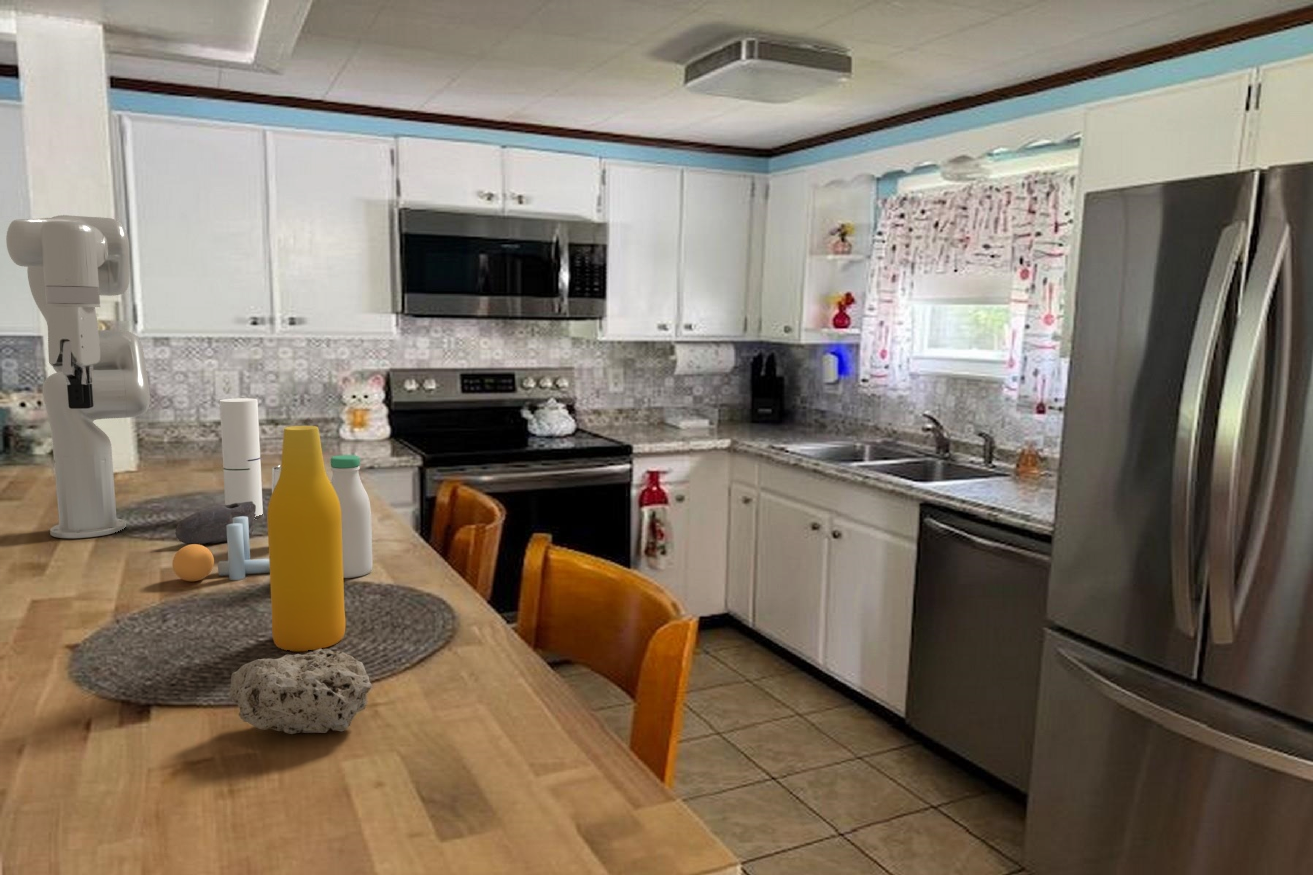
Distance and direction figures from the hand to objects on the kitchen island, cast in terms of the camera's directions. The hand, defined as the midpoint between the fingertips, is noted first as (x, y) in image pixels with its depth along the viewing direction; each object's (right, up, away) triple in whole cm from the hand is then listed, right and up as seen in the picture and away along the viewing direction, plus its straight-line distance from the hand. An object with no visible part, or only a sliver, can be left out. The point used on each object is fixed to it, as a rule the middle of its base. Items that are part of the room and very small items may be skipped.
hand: (81, 407), depth 149 cm
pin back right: (+27, -28, +1) cm, 38 cm away
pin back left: (+28, -28, -3) cm, 40 cm away
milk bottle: (+45, -28, +1) cm, 53 cm away
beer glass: (+29, -26, +17) cm, 42 cm away
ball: (+22, -25, -5) cm, 34 cm away
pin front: (+24, -27, -2) cm, 36 cm away
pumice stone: (+59, -36, -54) cm, 88 cm away
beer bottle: (+50, -33, -30) cm, 67 cm away
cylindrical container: (+10, -22, +38) cm, 45 cm away
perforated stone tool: (+14, -25, +19) cm, 34 cm away
